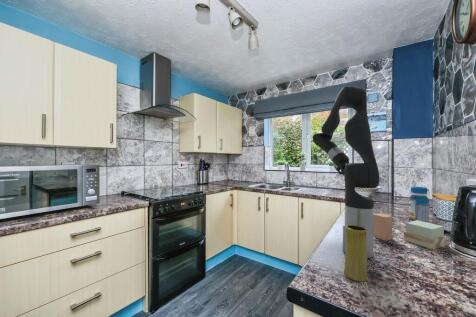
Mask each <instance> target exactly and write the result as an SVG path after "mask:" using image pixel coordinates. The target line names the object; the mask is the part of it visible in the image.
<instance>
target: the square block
mask: <svg viewBox="0 0 476 317" xmlns="http://www.w3.org/2000/svg"><path fill="white" fill-rule="evenodd" d="M373 238H377V239H379V240H382V241H390V240H393V215H389V214H386V213H374V236H373Z"/></svg>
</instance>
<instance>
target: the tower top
mask: <svg viewBox="0 0 476 317" xmlns="http://www.w3.org/2000/svg"><path fill="white" fill-rule="evenodd" d="M405 231H406V232H408V233H411V234H415V235H418V236H422V237H425V238H429V239H436V238H439V237H442V236H445V235H444V233H445V230H444V226H443V225H440V224H435V223H431V222H429V223H427V222H422V221H418V220H416V221H411V222H409V221H407V222H405Z"/></svg>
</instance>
